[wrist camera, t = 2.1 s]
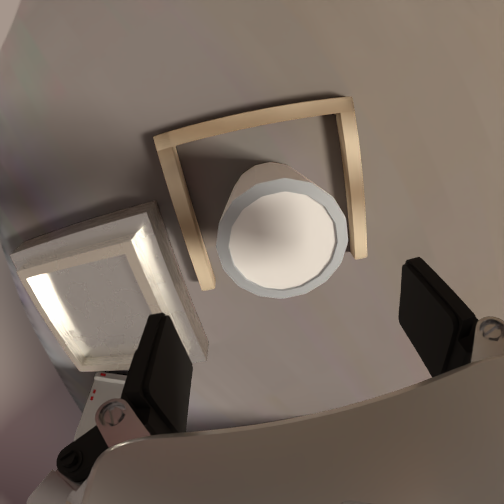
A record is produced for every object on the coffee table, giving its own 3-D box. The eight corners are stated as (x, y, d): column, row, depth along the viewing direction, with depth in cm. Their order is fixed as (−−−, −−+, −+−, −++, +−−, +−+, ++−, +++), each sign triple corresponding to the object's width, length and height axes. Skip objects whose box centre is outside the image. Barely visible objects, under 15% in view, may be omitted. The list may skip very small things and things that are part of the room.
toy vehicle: (127, 437, 38) (116, 491, 29) (91, 363, 30) (64, 435, 21) (183, 444, 38) (178, 502, 30) (165, 372, 30) (150, 454, 21)
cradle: (157, 134, 19) (152, 136, 18) (346, 96, 18) (352, 96, 17) (203, 282, 25) (202, 290, 24) (362, 250, 24) (367, 257, 23)
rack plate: (24, 241, 22) (2, 261, 19) (155, 200, 21) (141, 219, 18) (88, 354, 29) (77, 379, 25) (208, 341, 28) (206, 371, 25)
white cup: (242, 138, 20) (243, 157, 13) (333, 174, 21) (371, 208, 15) (209, 227, 23) (199, 280, 16) (295, 255, 24) (313, 312, 18)
